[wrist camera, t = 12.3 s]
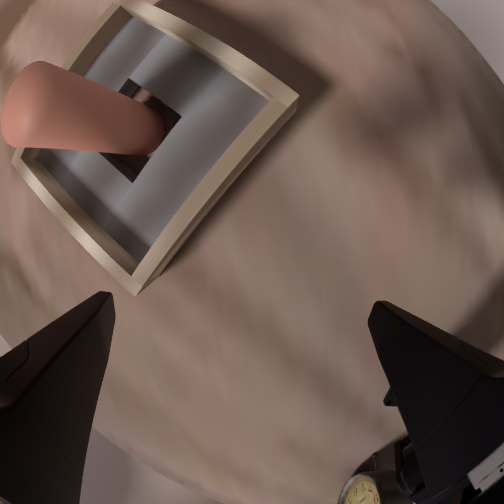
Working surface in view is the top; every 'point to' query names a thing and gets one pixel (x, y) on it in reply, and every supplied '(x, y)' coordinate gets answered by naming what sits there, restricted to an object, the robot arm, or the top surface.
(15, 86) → the peg
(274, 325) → the top surface
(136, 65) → the box
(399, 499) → the alarm clock
